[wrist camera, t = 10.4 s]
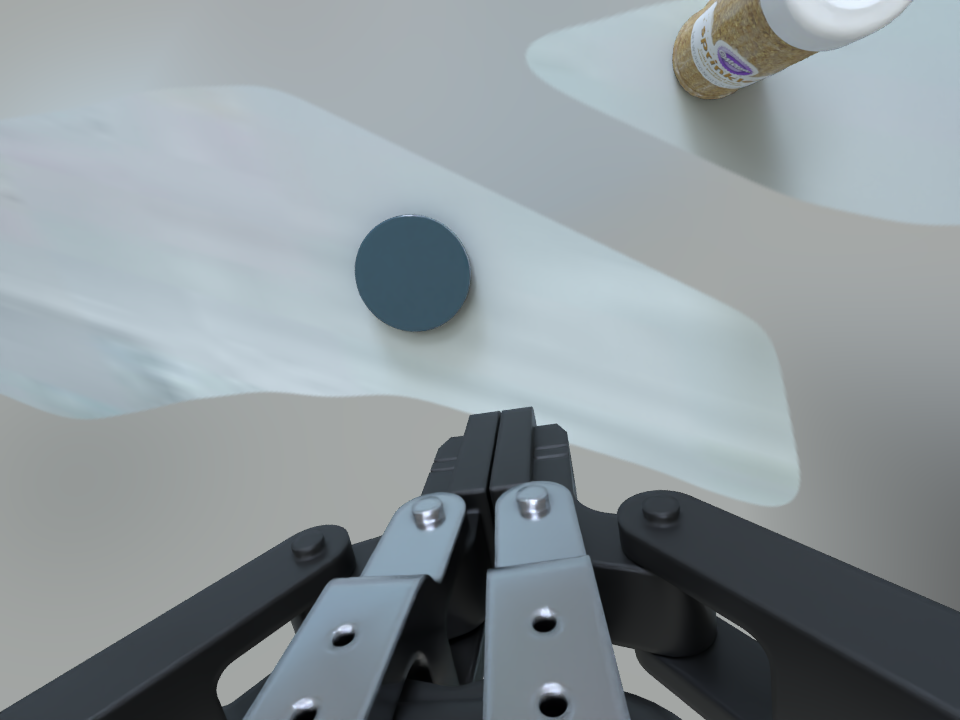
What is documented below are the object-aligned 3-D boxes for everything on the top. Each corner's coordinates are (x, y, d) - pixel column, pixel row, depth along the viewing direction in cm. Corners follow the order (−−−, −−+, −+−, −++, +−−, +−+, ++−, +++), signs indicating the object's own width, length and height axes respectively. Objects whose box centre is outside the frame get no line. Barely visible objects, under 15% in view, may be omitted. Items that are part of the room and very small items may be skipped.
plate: (405, 188, 33) (400, 189, 31) (495, 265, 34) (494, 268, 32) (338, 278, 35) (332, 282, 33) (425, 348, 35) (422, 354, 34)
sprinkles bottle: (656, 83, 30) (755, 7, 17) (694, -9, 28) (833, -167, 16) (733, 113, 30) (889, 60, 17) (775, 23, 29) (979, -108, 16)
